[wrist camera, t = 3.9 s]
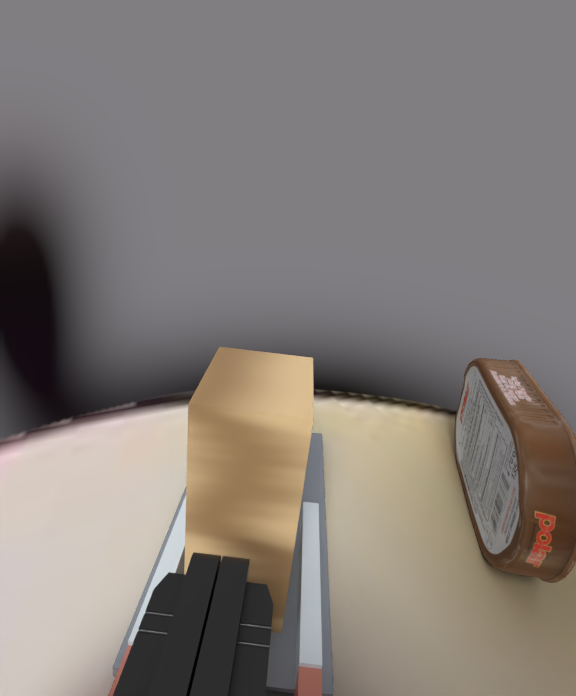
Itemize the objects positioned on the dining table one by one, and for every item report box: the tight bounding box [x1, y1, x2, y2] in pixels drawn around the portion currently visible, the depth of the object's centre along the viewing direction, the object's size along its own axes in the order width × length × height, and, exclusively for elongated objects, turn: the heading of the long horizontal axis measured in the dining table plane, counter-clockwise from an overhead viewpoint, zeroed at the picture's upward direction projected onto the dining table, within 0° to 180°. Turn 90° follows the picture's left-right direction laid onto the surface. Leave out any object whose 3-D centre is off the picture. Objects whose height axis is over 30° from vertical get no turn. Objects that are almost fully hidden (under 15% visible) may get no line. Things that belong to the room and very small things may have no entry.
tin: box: [455, 358, 576, 583], centre depth 25 cm, size 15×3×8 cm, turn 169°
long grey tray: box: [108, 433, 333, 696], centre depth 21 cm, size 8×23×2 cm, turn 177°
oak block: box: [184, 347, 314, 633], centre depth 18 cm, size 4×5×10 cm
